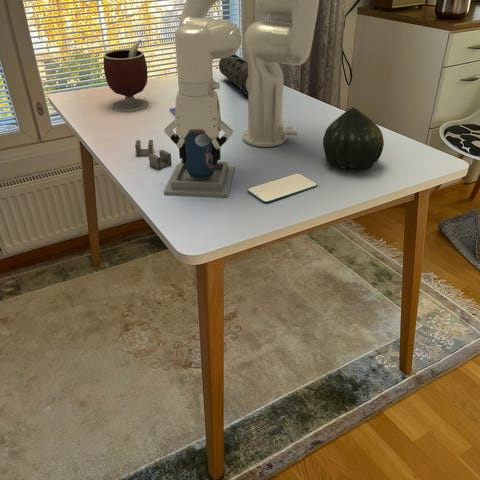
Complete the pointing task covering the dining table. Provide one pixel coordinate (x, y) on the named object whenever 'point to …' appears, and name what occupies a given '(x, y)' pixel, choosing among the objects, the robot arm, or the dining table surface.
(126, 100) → the mate gourd
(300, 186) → the smartphone
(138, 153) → the clip
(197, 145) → the soda can
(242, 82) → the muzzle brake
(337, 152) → the squash
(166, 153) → the clip
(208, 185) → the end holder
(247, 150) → the dining table surface
